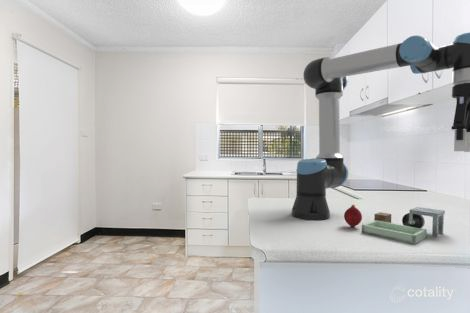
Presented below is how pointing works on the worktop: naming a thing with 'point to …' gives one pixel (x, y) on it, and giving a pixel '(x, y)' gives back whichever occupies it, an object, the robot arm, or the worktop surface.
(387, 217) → the block
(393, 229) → the tray
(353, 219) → the onion
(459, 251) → the worktop surface
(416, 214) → the caster wheel
